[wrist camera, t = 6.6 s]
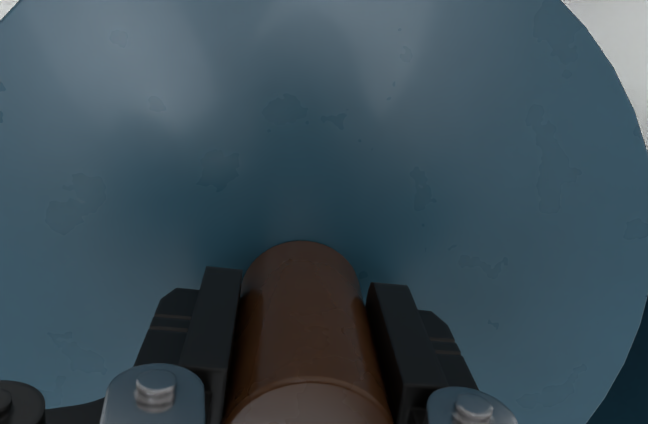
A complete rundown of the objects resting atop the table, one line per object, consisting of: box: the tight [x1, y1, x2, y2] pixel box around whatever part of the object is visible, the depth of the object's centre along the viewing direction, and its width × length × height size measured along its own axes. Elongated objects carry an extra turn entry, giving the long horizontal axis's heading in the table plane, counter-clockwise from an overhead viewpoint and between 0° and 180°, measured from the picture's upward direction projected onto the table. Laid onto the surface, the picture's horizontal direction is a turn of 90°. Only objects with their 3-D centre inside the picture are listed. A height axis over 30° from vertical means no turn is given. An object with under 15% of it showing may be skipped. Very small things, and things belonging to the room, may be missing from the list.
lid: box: [0, 0, 648, 424], centre depth 12 cm, size 16×16×6 cm
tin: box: [586, 150, 648, 424], centre depth 32 cm, size 15×15×10 cm
